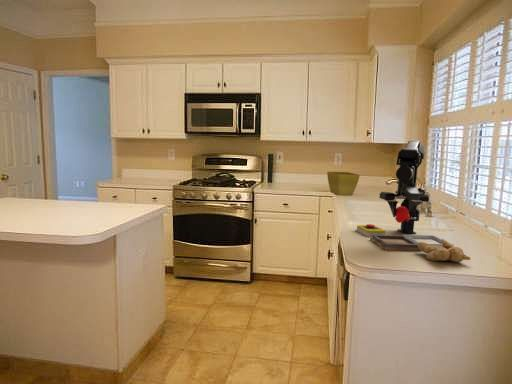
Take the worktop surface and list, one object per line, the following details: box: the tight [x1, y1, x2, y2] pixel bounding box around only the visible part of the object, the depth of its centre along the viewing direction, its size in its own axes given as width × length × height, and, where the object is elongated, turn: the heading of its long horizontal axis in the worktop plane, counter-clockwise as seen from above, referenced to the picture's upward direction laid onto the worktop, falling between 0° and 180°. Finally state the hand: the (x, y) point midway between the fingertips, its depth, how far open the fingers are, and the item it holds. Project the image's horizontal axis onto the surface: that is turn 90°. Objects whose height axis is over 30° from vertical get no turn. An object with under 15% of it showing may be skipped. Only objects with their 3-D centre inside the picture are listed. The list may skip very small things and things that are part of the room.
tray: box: [402, 234, 455, 247], centre depth 162 cm, size 15×15×2 cm
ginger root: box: [418, 238, 471, 263], centre depth 138 cm, size 16×16×8 cm
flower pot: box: [326, 171, 361, 196], centre depth 297 cm, size 19×19×17 cm
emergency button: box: [354, 223, 387, 238], centre depth 173 cm, size 9×4×15 cm
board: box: [369, 234, 422, 252], centre depth 155 cm, size 15×15×2 cm
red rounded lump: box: [394, 205, 410, 224], centre depth 153 cm, size 8×6×6 cm
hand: (402, 217), depth 154 cm, fingers closed on red rounded lump, 6 cm apart
